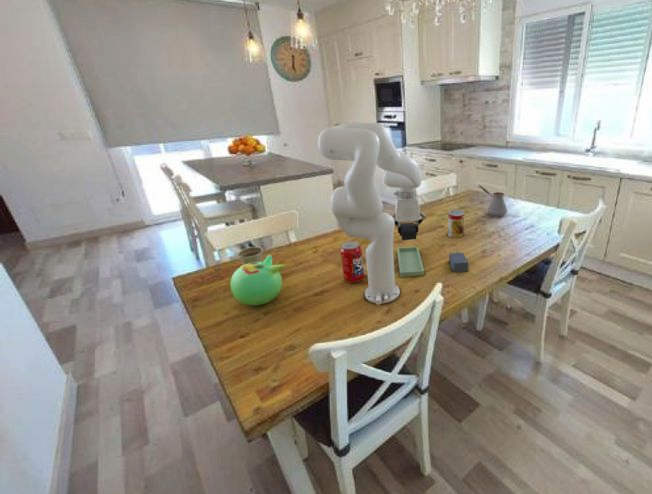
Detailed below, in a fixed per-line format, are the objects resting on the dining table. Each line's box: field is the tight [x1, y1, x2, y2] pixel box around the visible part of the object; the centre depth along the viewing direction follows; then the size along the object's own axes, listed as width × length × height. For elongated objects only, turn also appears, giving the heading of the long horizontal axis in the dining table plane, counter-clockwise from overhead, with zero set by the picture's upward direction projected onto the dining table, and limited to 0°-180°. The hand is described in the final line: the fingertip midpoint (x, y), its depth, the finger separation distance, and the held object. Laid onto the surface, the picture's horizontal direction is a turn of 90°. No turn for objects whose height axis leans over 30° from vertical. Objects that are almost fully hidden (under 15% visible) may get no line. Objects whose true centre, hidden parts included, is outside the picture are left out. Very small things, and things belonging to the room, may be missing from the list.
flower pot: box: [237, 246, 264, 265], centre depth 132 cm, size 9×9×9 cm
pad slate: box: [448, 251, 469, 273], centre depth 134 cm, size 9×6×4 cm, turn 7°
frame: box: [396, 246, 425, 278], centre depth 138 cm, size 23×10×2 cm, turn 7°
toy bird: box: [229, 254, 286, 306], centre depth 112 cm, size 18×17×15 cm
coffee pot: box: [478, 184, 508, 218], centre depth 190 cm, size 21×12×15 cm, turn 39°
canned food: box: [447, 209, 465, 239], centre depth 162 cm, size 8×8×12 cm
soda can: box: [339, 241, 365, 284], centre depth 124 cm, size 8×8×15 cm
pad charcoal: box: [401, 222, 417, 241], centre depth 138 cm, size 9×6×4 cm, turn 7°
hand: (408, 233), depth 138 cm, fingers closed on pad charcoal, 6 cm apart
